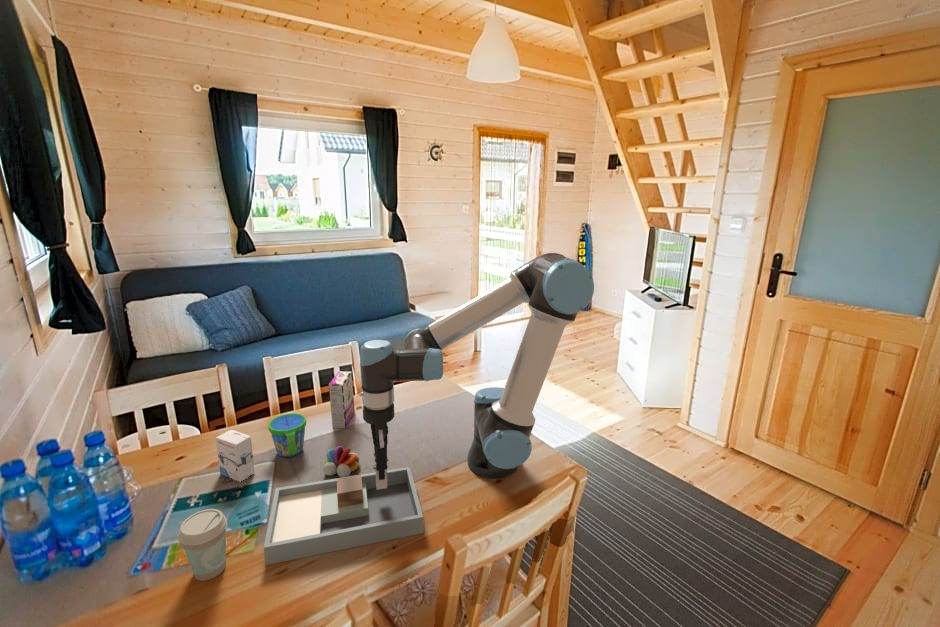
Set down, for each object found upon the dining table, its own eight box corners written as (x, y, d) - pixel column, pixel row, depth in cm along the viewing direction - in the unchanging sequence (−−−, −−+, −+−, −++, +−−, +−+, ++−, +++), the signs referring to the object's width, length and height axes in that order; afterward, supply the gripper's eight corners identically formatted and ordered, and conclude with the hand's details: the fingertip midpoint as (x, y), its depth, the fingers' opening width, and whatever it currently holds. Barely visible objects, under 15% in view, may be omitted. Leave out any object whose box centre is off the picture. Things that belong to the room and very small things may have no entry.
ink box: (219, 474, 123) (213, 437, 120) (235, 465, 127) (230, 428, 124) (241, 483, 119) (235, 445, 116) (256, 473, 124) (251, 436, 121)
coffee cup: (200, 594, 87) (190, 543, 83) (178, 574, 91) (168, 526, 88) (241, 564, 94) (234, 517, 90) (219, 547, 98) (211, 501, 95)
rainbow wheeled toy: (350, 481, 121) (349, 458, 119) (318, 476, 123) (316, 454, 121) (364, 463, 129) (362, 441, 127) (333, 459, 131) (332, 437, 129)
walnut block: (362, 488, 114) (361, 474, 113) (363, 503, 109) (362, 489, 108) (338, 492, 113) (336, 478, 112) (338, 507, 107) (337, 493, 106)
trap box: (410, 481, 121) (409, 466, 120) (423, 533, 103) (423, 516, 102) (277, 503, 112) (275, 488, 111) (265, 565, 93) (263, 547, 92)
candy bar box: (341, 412, 158) (338, 370, 154) (355, 413, 158) (352, 370, 154) (331, 429, 147) (327, 384, 143) (346, 429, 147) (343, 384, 143)
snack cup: (310, 461, 129) (307, 430, 127) (271, 469, 125) (267, 438, 123) (307, 435, 143) (304, 407, 141) (272, 441, 139) (268, 412, 137)
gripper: (361, 393, 111) (365, 474, 117) (364, 418, 99) (368, 506, 105) (390, 390, 113) (393, 469, 120) (397, 414, 101) (399, 501, 108)
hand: (381, 487), depth 113 cm, fingers closed
